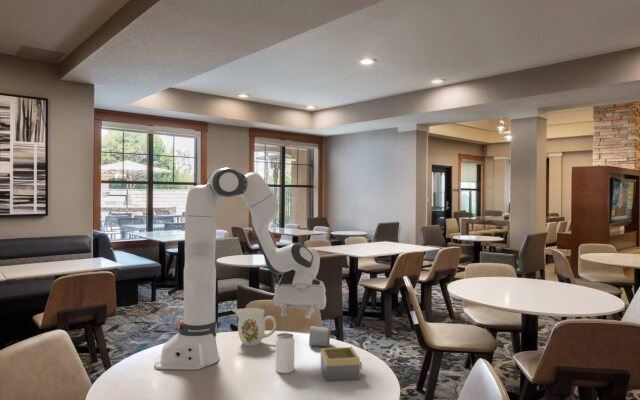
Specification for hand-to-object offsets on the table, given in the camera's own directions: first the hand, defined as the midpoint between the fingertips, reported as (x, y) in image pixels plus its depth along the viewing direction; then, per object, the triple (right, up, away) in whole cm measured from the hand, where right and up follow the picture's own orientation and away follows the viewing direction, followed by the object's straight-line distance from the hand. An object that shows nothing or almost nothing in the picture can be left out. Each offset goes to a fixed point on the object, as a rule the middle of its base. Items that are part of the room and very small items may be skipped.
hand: (295, 316), depth 162 cm
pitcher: (-18, -16, +17) cm, 29 cm away
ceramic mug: (+9, -16, +16) cm, 24 cm away
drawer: (+16, -16, -14) cm, 26 cm away
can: (-3, -16, -11) cm, 19 cm away
